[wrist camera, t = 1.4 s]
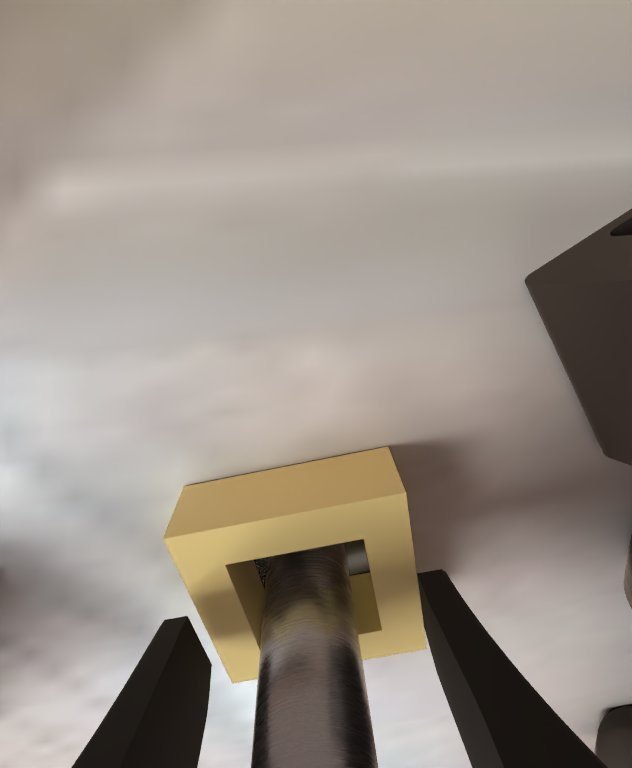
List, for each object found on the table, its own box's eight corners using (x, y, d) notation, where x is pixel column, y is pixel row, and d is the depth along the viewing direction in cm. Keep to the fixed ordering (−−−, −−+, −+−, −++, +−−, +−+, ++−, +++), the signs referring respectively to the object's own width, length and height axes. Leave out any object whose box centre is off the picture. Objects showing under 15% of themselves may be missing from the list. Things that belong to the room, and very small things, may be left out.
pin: (269, 586, 13) (238, 1056, 6) (244, 513, 12) (164, 999, 5) (363, 568, 13) (450, 1025, 6) (347, 493, 12) (433, 958, 5)
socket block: (240, 621, 14) (232, 683, 12) (183, 486, 12) (163, 538, 10) (409, 590, 14) (426, 648, 12) (388, 446, 11) (406, 492, 9)
